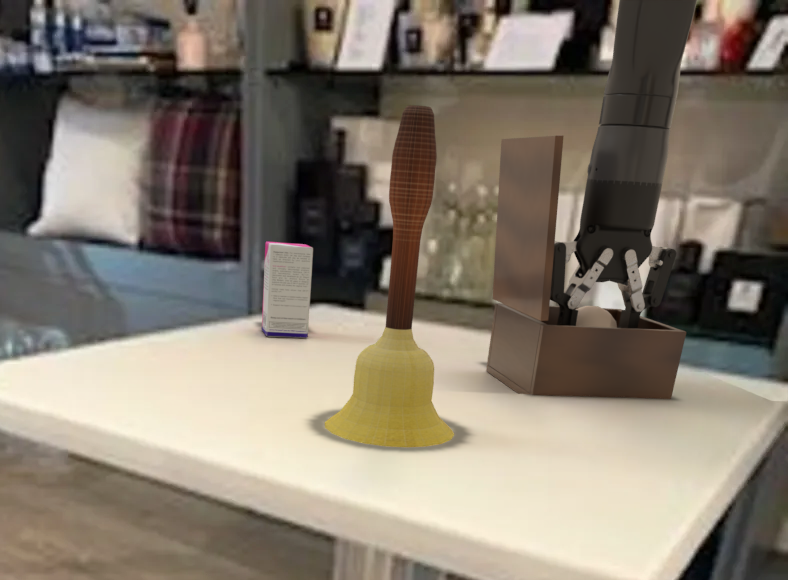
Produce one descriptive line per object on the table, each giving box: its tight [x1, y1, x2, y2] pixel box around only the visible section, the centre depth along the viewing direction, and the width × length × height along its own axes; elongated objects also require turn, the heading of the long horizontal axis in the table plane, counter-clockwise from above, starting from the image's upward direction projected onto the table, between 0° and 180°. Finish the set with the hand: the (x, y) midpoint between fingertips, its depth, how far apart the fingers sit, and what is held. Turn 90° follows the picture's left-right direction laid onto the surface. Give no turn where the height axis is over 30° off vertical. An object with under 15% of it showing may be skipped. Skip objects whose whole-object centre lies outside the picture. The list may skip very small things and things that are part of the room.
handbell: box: [324, 104, 455, 448], centre depth 70 cm, size 12×12×25 cm
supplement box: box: [261, 240, 314, 339], centre depth 116 cm, size 6×6×12 cm
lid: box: [492, 134, 565, 321], centre depth 90 cm, size 16×16×1 cm
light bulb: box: [576, 305, 617, 328], centre depth 97 cm, size 7×7×11 cm
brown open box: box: [485, 302, 687, 400], centre depth 97 cm, size 16×16×8 cm
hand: (594, 344), depth 97 cm, fingers closed on light bulb, 6 cm apart
